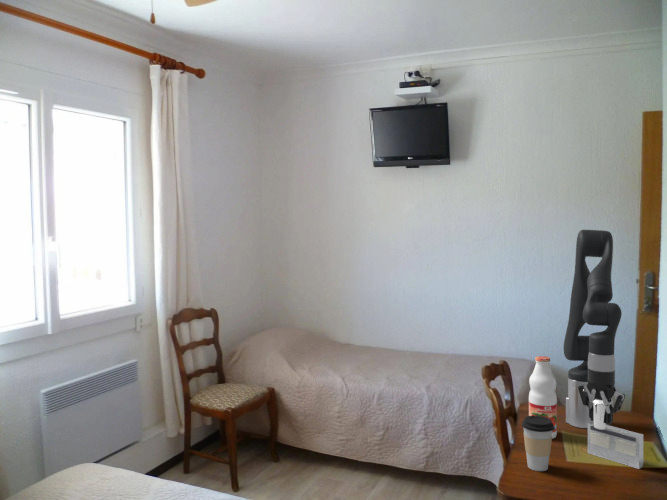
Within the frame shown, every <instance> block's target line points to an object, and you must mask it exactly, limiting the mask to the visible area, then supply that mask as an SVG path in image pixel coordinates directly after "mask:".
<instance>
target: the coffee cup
mask: <svg viewBox="0 0 667 500" xmlns="http://www.w3.org/2000/svg"><path fill="white" fill-rule="evenodd" d="M521 427H522V428H523V438H524V439H523V441H524V448H525V453H526V455H525V456H526V462H527V464H526V465H527V467H528V468H529V469H530V470H532V471H535V472H545V471H547V470H549V462H550V455H551V451H552V449H551V448H552V440H553V439H552V430H553V429H554V425H553V423H552V422H551V420H550V419H549V418H546V417H543V416H529V415H528V416H525V417H524V419H523V420H522V423H521Z"/></svg>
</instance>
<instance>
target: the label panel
mask: <svg viewBox="0 0 667 500" xmlns="http://www.w3.org/2000/svg"><path fill="white" fill-rule="evenodd" d="M587 454H589V455H593V456H595V457H599V458H602V459H606V460H609V461H612V462H614V463H619V464H622V465H625V466H627V467H628V466H629V467H631V468H634V469H638V470H640V469H642V468H643V467H644V434H643V433H639V432H634V431H632V430H631V431H630V430H627V429H624V428H619V427H617V426H613V425H606V427H605V429H603V430H602V429H596V428H595V427H594V421H591V422H589V423H588V428H587Z"/></svg>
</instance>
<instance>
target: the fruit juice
mask: <svg viewBox="0 0 667 500" xmlns="http://www.w3.org/2000/svg"><path fill="white" fill-rule="evenodd" d="M550 363H551V358H550V357H549V356H546V355H537V356H535V365H534V369H533V370H532V373H531V375H530V376H529V379H528V385H529V388H530V390H529V393H528V416H543V417H546V418H549V419H550V420H551V422H552V423H553V425H554V429H553V430H552V440H553V439H556V437H557V434H558V398H557V393H556V387H557V379H556V377H555V376H554V374H553V371H552V367H551V366H550Z"/></svg>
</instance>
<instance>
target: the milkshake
mask: <svg viewBox="0 0 667 500" xmlns="http://www.w3.org/2000/svg"><path fill="white" fill-rule="evenodd" d="M606 413H607V412H606V406H605V404H604V403H603V400H599V399H594V401H593V415H594V427H595V428H596V429H602V430H603V429H605V427H606Z"/></svg>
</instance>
